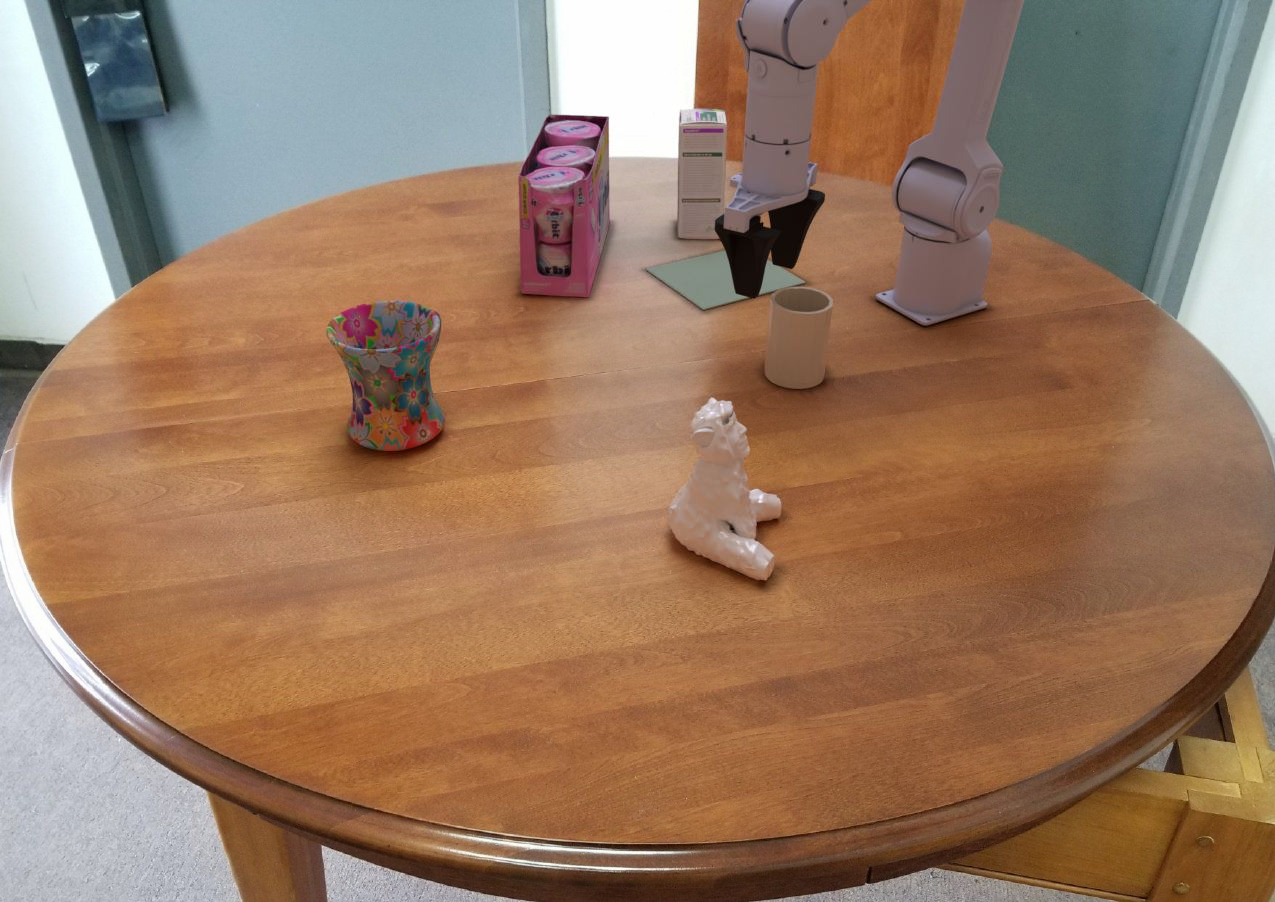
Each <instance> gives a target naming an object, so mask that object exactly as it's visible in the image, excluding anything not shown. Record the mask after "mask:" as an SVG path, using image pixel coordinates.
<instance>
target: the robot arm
mask: <svg viewBox="0 0 1275 902" xmlns="http://www.w3.org/2000/svg"><path fill="white" fill-rule="evenodd" d="M872 1H873V0H745V1H744V4H743V6H742V8H741V13H740V17H739V18H737V19H735V33H736V37H737V41H738V43H739V44H740V46H741V47H742V50H743V54H744V60H743V61H744V63H743V69H745V71H746V73H747V91H746V92H747V93H746V107H745V120H744V121H745V122H744V137H743V138H744V139H743V150H742V151H743V153H742V154H743V155H742V168H741V173H739V172H738V173H736V174H734V175H733V176H731V177H730V178H729V186H730V187H731V188H736V189H735V192H734V194H733V197H732V199H731V201H730V202H729V203H728V204H727V205H726V206H724V214H723V215H721V216H720V217H718V218H717V219H716V220H715V232H716V234H717V235H718V237H719V239H718V240H720V242H721V244H722V246H723V249H724V250H725V251H726V254H727V257H728V261H729V265H730V269H731V274H732V280H733V285H734V289H735V293H736V294H738V295H742V296H746V297H749V299H753V300H754V299H756V298H757V297H759V296H758V295H759V293H760V290H761V287H762V283H763V278H764V272H765V267H766V263H767V260H769V257H770V256H771V262H772V263H773V265H776V266H780V267H781V268H783V269H789V270H793V269H794V268H795V267H796V265H797V262H798V260H799V258H800V254H801V251H802V249H803V245H804V243H805V239H806V237H807V233H808V232H809V229H810V226H811V225H812V223H813V221H814V218H815V217H816V215H817V213H818V212H819V210H820V209H821V207H822V206H823V205H824V203H825V201H826V193H825V192H823V191H821V190H816V189H812V188H811V187H814V185H816V184H817V176H818V168H819V164H818V163H815V162H810V153H811V143H812V131H813V122H814V113H815V103H816V92H817V83H818V81H817V80H818V73H819V65H820V64H819V63H820V62H822V61H824V60H825V61H826V59H827V58H828V57H829V55H830V54H831V52H832V50H833V48H834V47H835V44H836V42H837V39H838V36H839V35H840V34H841V32H842V31H843V30H844V29H845V26H846V24H847V23H848V21H849V20H850V19H851V18H852V17H853V16H855V15H856V14H857V13H858V12H860V11H861V10H862V9H863V8H865V7H866V6H867V5H868V4H869V3H871V2H872ZM1024 3H1025V0H965V1H964V5H963V9H962V12H961V17H960V21H959V24H958V28H957V32H956V36H955V40H954V43H953V44H954V45H953V48H952V53H951V55H950V60H949V63H948V68H947V72H946V75H945V79H944V83H943V87H942V90H941V91H942V92H941V96H940V99H939V103H938V107H937V111H936V115H935V119H934V123H933V127H932V130H931V131H930V132H929V133H927V134H925V135H924V136H922V137H920V138H918V139H916V140H915V141H913V142H911V143H910V144H909V145H908V147H907V152H906V154H905V155H906V156H905V159H904V161H903V163H902V165H901V167H900V169H899V170H898V172H897V173H896V175H895V177H894V181H893V183H892V189H891V191H892V192H891V200H892V201H891V202H892V205H893V207H894V209H895V210H896V211H897V212H899V219H898V222H899V223H900V224H901V225H903V231H902V236H901V237H902V238H901V244H900V250H899V256H898V263H897V268H896V275H895V282H894V287H893V289H889V290H886V291H882V292H878V293H876V295H875V299H876V300H877V301H879V302H880V303H883V304H884V305H886V306H888V307H889V308H891V309H893V310H894V311H896V312H898V313H900V314H901V315H904V316H905V317H907V318H909V319H910V320H912V321H914V322H916V323H918V324H919V325H921V326H930V325H933V324H937V323H940V322H943V321H946V320H947V321H948V320H949V319H950V320H951V319H952V318H956V317H959V316H960V317H961V316H963V315H966V314H969V313H974V312H977V311H979V310H983V309H987V308H988V302H986V301H985V300H983V297H984V291H985V288H986V282H987V279H988V273H989V269H990V264H991V258H992V254H993V253H992V251H993V245H992V244H993V243H992V240H991V236H990V234H989V232H988V230H987V229H988V228H989V226H990V225H991V224H992V222H993V220H994V219H995V217H996V215H997V212H998V210H999V205H1000V199H1001V198H1000V197H1001V195H1000V186H1001V184H1000V183H1001V178H1002V173H1003V170H1004V165H1003V162H1002V161H1001V159H1000V158H999V157H998V155H997V154H996V152H995V151H994V150H993V148H992V146H990V144H989V142H988V140H987V135H988V133H989V128H990V124H991V121H992V118H993V114H994V110H995V107H996V103H997V99H998V96H999V92H1000V89H1001V85H1002V81H1003V78H1004V74H1005V71H1006V68H1007V65H1008V60H1009V57H1010V53H1011V49H1012V46H1013V42H1014V39H1015V35H1016V32H1017V28H1018V24H1019V21H1020V17H1021V13H1022V10H1023V6H1024ZM765 213H768V214H767V215H768V219H769V226H770V227H769V226H764V221H761V219H762V215H763V214H765Z"/></svg>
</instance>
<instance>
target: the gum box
mask: <svg viewBox="0 0 1275 902" xmlns="http://www.w3.org/2000/svg"><path fill="white" fill-rule="evenodd" d="M517 174H518V175H517V176H518V178H517V181H518V211H519V217H518V218H519V220H518V221H519V263H520V264H519V265H520V294H522V295H523V294H525V295H526V294H527V295H541V296H553V297H554V296H556V297H557V296H558V297H577V298H589V297H590V294H591V290H592V286H593V283H594V280H595V278H596V273H597V269H598V267H599V264H600V259H601V256H602V253H603V249H604V245H605V241H606V239H607V235H608V232H609V227H610V224H611V218H610V217H611V216H610V211H611V210H610V116H606V115H605V116H604V115H583V114H582V115H580V114H552V113H551V114H547V116H546V117H545V118H544V121H543V123H542V125H541V127H540V129H539V132H538V135H537V137H536V138H535V140H534V142H533V144H532V147H531V148H530V151H529V153H528V155H527V156H526V158H525V160H524V162H523V163H522V165H521V167H520V170H519V172H518V173H517Z"/></svg>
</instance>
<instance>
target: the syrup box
mask: <svg viewBox="0 0 1275 902" xmlns="http://www.w3.org/2000/svg"><path fill="white" fill-rule="evenodd" d="M727 137H728V122H727V116H726V110H724V109H719V108H687V109H680V110H679V117H678V144H677V145H678V147H677V149H678V151H677V152H678V154H677V208H676V211H677V212H676V213H677V214H676V216H677V217H676V219H677V220H676V223H677V238H678V239H685V240H720V239H719V237H718V235H717V234H716V232H715V220H716V219H717V218H718V217H720V216H721V215H723V214H724V212H725V201H726V200H725V197H726V180H727V179H726V177H727V176H726V174H727V139H728V138H727Z"/></svg>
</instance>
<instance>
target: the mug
mask: <svg viewBox="0 0 1275 902" xmlns="http://www.w3.org/2000/svg"><path fill="white" fill-rule="evenodd" d="M441 317H442V316H441V315H440V313H439V312H437V311H436V310H434V309H431V308H429V307H428V306H426V305H423V304H420V303H418V302H417V303H416V302H412V301H405V300H380V301H379V300H378V301H371V302H367V303H362V304H358V305H355V306H352V307H349V308H347V309H345V310H343V311H341V312H339V313H338V314H337V315H335V316H334V317H333V318H332V319H331V320H330V321H329V323H328V324H327V327H326V330H325V331H326V337H327V339H328V341H329V343H330V344H331V345H332V346H333V348H334V349H335V350H336V352H337V354H338V355H339V358H340V359H341V361H342V363H343V365H344V367H345V370H346V372H347V375H348V379H349V383H350V386H351V393H352V407H351V412H350V415H349V418H348V421H347V426H346V429H347V433H348V434H349V436H350V438H351V439H352V440H353V441H354V442H355V443H357V444H358V445H359V446H362V447H364V448H367V449H370V450H375V451H384V452H394V451H395V452H396V451H397V452H398V451H404V450H409V449H413V448H416V447H419V446H421V445H423V444H426V443H428V442H429V441H431V440H433V439H434V438H435V437H437V435H439V434H440V432H441V431H442V430H443V428H444V425H445V423H446V416H445V413H444V411H443V409H442V408H441V406H440V405H439V403H438V401H437V399H436V397H435V395H434V390H433V388H432V382H431V362H432V360H433V358H434V355H435V353H436V350H437V348H438V345H439V341H440V337H441V331H442V318H441Z"/></svg>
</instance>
